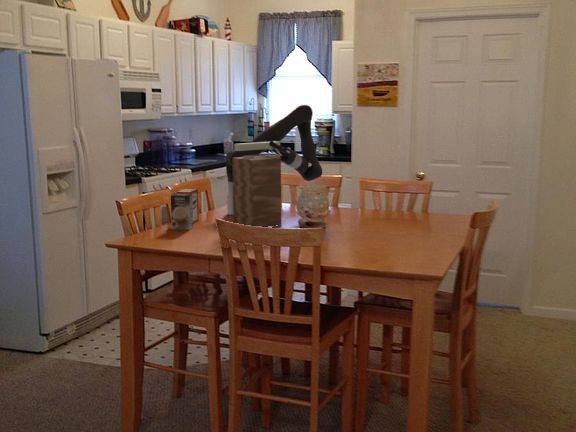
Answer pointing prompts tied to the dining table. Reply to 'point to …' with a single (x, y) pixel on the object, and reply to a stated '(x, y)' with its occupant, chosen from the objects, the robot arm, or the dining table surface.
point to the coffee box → (181, 211)
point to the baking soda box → (195, 201)
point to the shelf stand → (257, 190)
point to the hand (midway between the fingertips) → (267, 142)
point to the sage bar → (254, 146)
